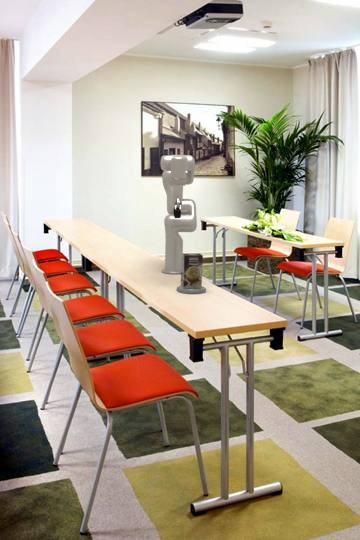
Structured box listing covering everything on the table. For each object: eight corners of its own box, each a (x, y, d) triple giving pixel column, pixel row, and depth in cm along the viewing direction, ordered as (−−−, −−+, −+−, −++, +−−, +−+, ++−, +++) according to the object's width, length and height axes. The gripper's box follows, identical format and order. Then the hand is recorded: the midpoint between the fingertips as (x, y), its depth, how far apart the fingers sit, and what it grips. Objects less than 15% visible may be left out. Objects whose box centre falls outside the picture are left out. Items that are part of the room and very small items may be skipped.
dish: (176, 287, 301) (176, 284, 300) (204, 287, 301) (204, 284, 301) (177, 293, 287) (177, 290, 287) (207, 294, 288) (207, 291, 287)
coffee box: (183, 289, 290) (184, 255, 287) (180, 286, 296) (181, 253, 293) (202, 288, 292) (203, 255, 289) (198, 285, 298) (199, 252, 295)
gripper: (169, 180, 310) (169, 214, 314) (171, 183, 294) (170, 219, 297) (184, 181, 311) (183, 215, 314) (186, 183, 294) (185, 219, 298)
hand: (177, 216), depth 306 cm, fingers open, 9 cm apart
